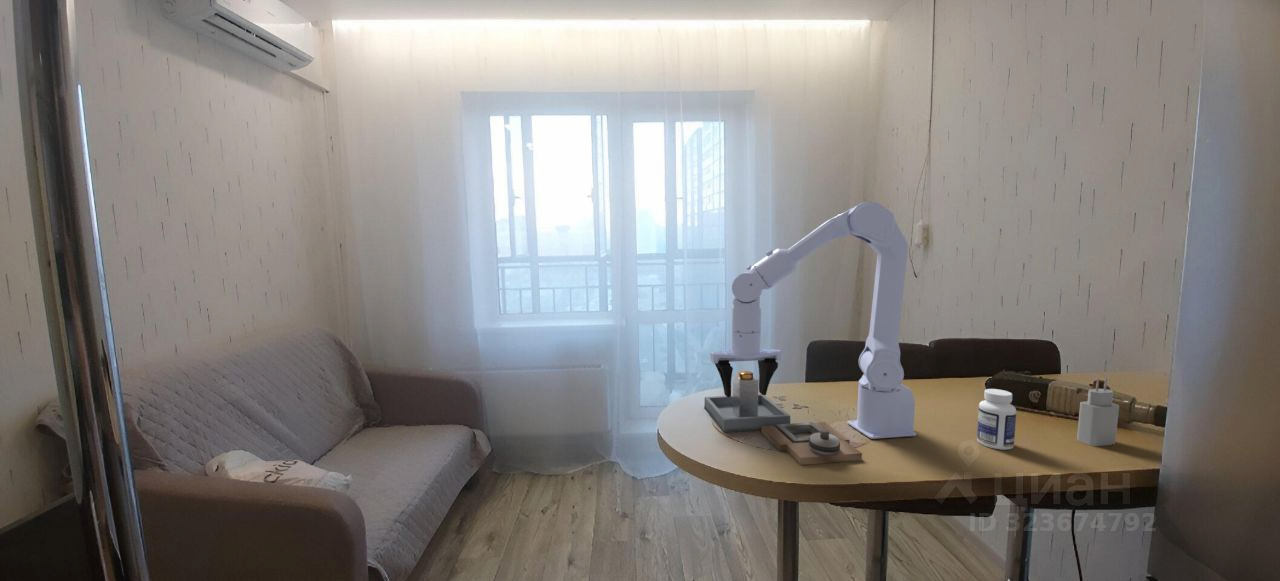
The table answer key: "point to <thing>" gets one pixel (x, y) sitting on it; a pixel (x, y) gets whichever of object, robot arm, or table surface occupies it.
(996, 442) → the pill bottle
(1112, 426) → the power adapter
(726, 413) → the tray
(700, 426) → the table surface
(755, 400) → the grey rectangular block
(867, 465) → the table surface
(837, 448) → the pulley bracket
